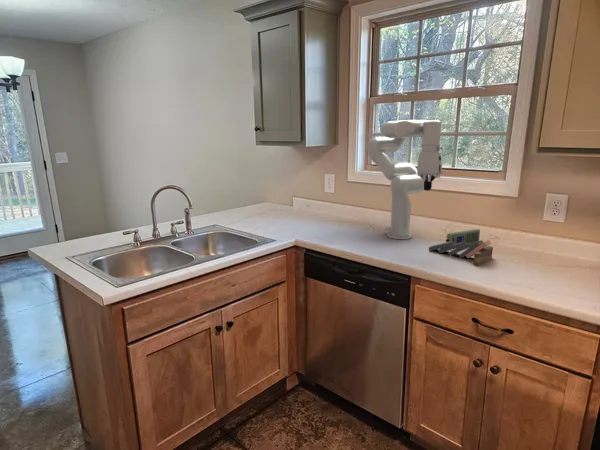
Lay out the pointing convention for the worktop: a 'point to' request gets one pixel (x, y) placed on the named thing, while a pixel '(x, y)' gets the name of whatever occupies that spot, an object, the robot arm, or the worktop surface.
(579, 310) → the worktop surface
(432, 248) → the domino
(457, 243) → the domino
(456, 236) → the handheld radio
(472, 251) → the domino
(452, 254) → the domino
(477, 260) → the bar
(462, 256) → the domino
